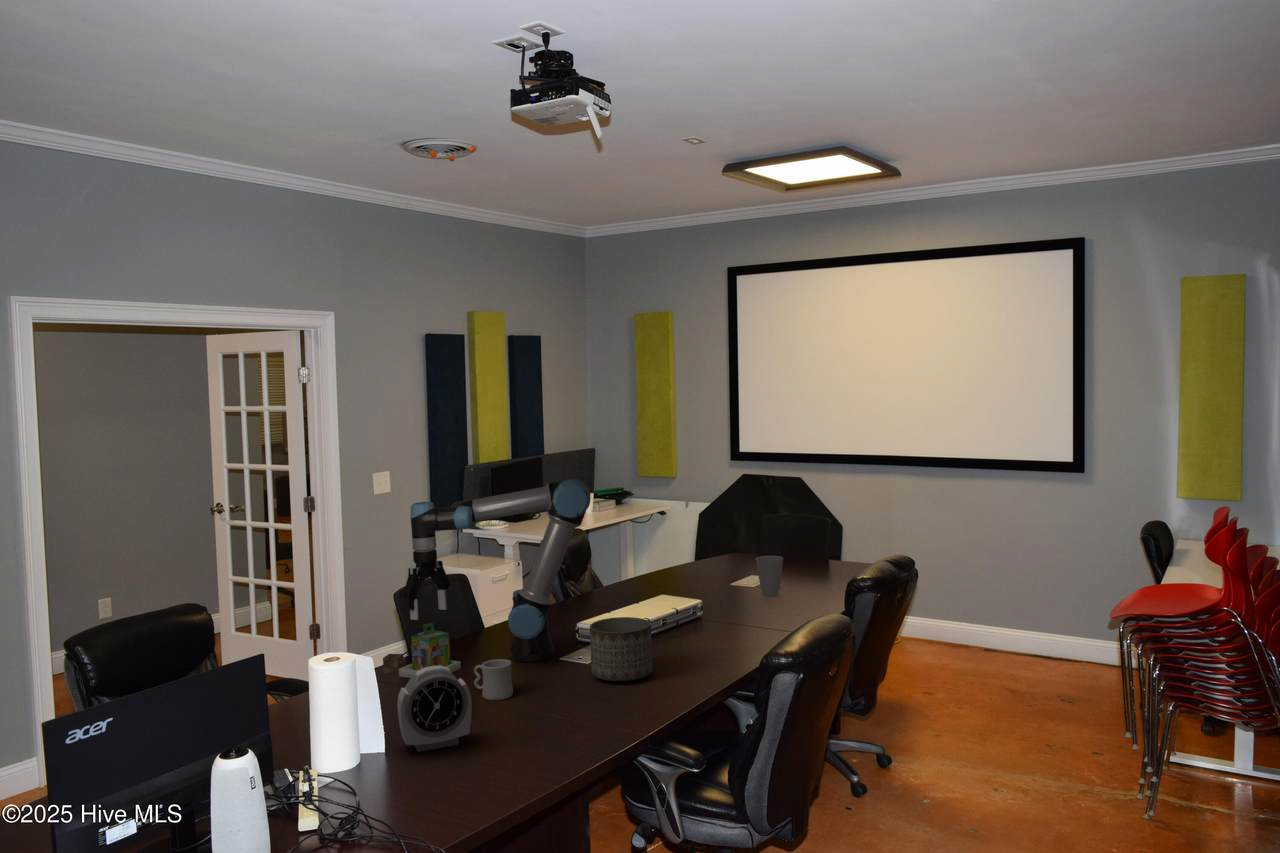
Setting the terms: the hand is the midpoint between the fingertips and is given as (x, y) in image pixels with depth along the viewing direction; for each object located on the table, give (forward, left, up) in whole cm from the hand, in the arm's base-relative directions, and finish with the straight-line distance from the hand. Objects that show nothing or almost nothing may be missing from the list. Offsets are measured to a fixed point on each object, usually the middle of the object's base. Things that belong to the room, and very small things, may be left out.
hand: (428, 614), depth 300 cm
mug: (-34, +11, -19) cm, 40 cm away
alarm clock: (-44, +48, -19) cm, 68 cm away
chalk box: (0, -1, -18) cm, 18 cm away
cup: (-65, -143, -19) cm, 158 cm away
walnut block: (+13, +3, -19) cm, 24 cm away
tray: (0, 0, -19) cm, 19 cm away
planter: (-61, -20, -19) cm, 67 cm away
